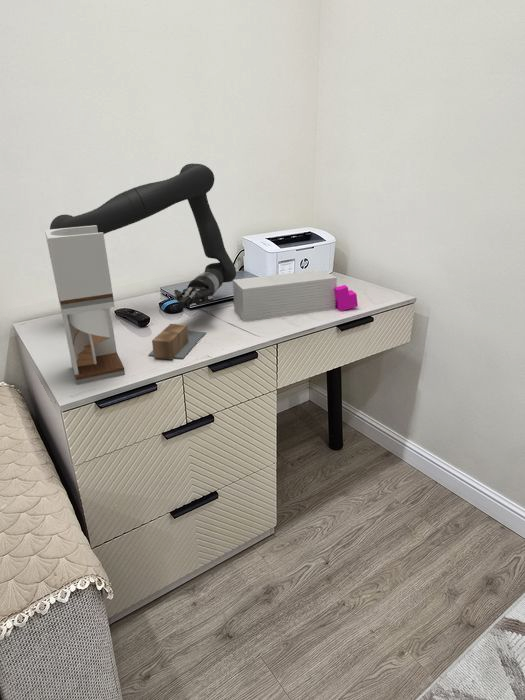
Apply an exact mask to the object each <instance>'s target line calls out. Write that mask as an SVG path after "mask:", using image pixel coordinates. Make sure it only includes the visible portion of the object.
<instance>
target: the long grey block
mask: <svg viewBox="0 0 525 700" xmlns="http://www.w3.org/2000/svg"><path fill="white" fill-rule="evenodd" d="M337 282H338V277H336V276H335V275H333V274H332V275H331V273H330V272H328V271H325V270H324V269H316V270H315V269H314V270H307V271H297V272H290V273H281V274H272V275H271V274H270V275H263V276H253V277H246V278H238V279H236V278H235V279H234V280H233V281H232V288H233V289H232V291H233V294H232V295H233V308H234V309H233V311H234V312H235V314H236V315H237V316H238V317H239V318H240V320H241V321H242V322H245V323H246V322H250V321H251V322H252V321H259V320H265V319H272V318H280V317H287V316H293V315H300V314H301V315H302V314H309V313H314V312H321V311H323V312H324V311H329V310H335V309H336V307H335V306H336V304H335V303H336V301H335V300H336V298H335V291H334V288H335V287H336V286H337V287H338V285H337Z"/></svg>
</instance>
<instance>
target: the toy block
mask: <svg viewBox="0 0 525 700" xmlns="http://www.w3.org/2000/svg"><path fill="white" fill-rule="evenodd" d="M330 274H331V273H330ZM331 275H333V274H331ZM334 291H335V298H336V300H335V301H336V303H335V304H336V306H335V309H337V310H338V311H339V312H343V311H346V310H349V309H353V308H356V307H357V308H358V307H359V306H358V305H359V304H358V297H357V292H355V291H354V290H352V289H350V290H349V287H348V286H347V285H346V284H343V285H339V286H338V285H337V286H336V287H335V288H334Z"/></svg>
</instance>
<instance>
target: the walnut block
mask: <svg viewBox="0 0 525 700" xmlns="http://www.w3.org/2000/svg"><path fill="white" fill-rule="evenodd" d="M188 331H189V330H188V324H178V323H177V324H175V323H170V324H169V325H168V326H166V327H165V328H164V329H163V330H162V331H161V332H160V333H158V334H157V335H156V336H155V337H154V338H153V339H152V340H151V343H152V351H153V353H154V357H153V358H154V359H163V360H174V359H175V358H174V356H175V355H176V354H177V353H178V352H179V351H180V350H181V349H182V348H183V347H184V346H185V345H186V344H187V343H188V342H189V340H188Z"/></svg>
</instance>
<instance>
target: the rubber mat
mask: <svg viewBox="0 0 525 700" xmlns="http://www.w3.org/2000/svg"><path fill="white" fill-rule="evenodd" d="M206 334H207V332H206V331H197V330H196V331H194V330H188V340H189V342H188V343H187V344H186V345H185V346H184V347H183V348H182V349H181V350H180V351H179V352H178V353H177V354H176V355H175V356H174V358H173V359H176V360H184V359H185V358H186V357H187V356H186V355H189V353H190V352H191V351H192V350H193V349H194V348H195V347H196V345H197V344H198V343H199V342H200V341H201V340H202V339H201V338H204V337H205V335H206ZM200 339H201V340H200ZM199 340H200V341H199ZM198 341H199V342H198ZM197 342H198V343H197ZM194 346H195V347H194ZM193 347H194V348H193ZM192 348H193V349H192ZM147 355H148V357H153V356H154V353H153V350H152V351H151V352H149V353H148V354H147ZM185 356H186V357H185Z"/></svg>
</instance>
